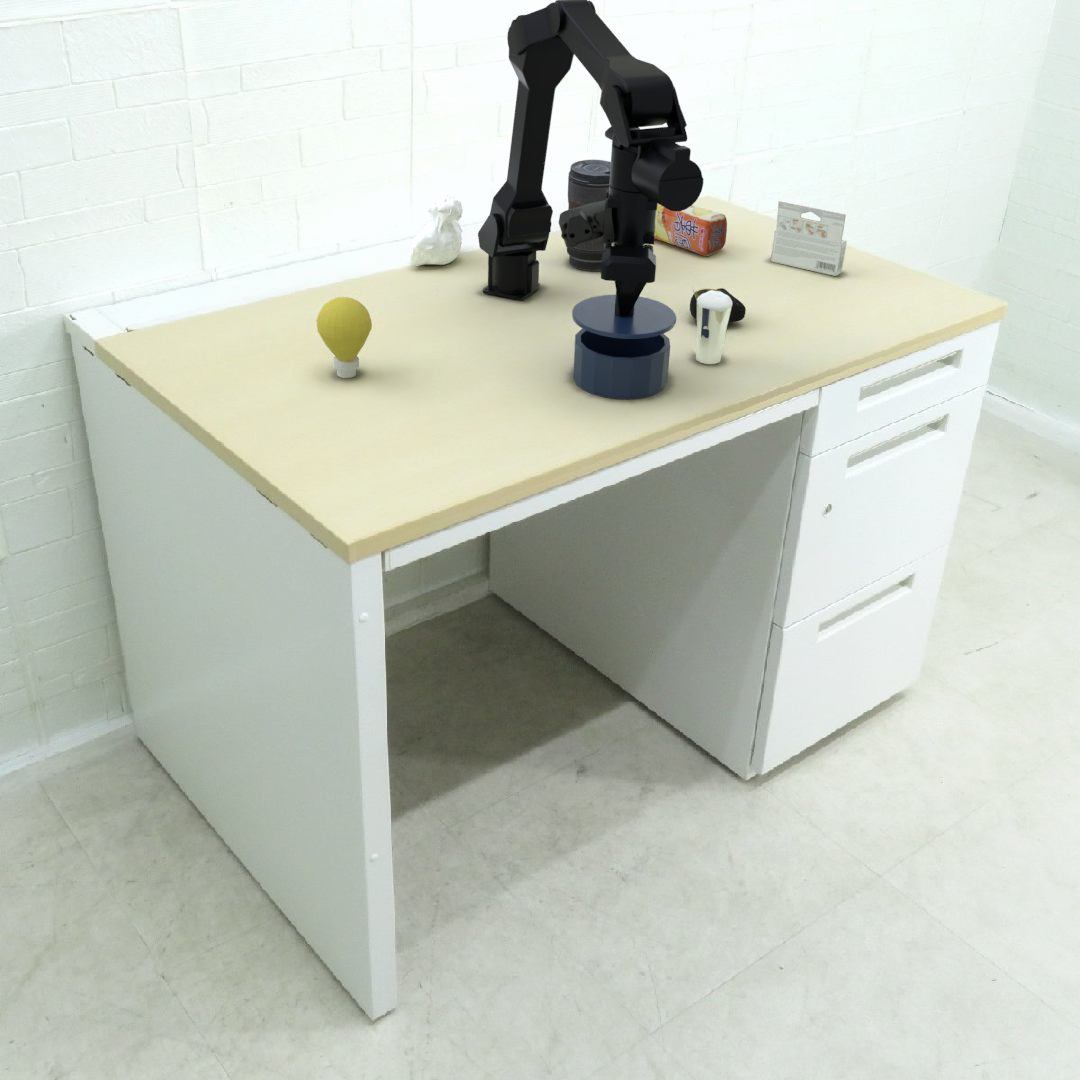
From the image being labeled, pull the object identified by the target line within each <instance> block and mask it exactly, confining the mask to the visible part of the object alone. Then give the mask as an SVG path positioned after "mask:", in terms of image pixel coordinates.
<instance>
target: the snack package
mask: <svg viewBox="0 0 1080 1080" xmlns="http://www.w3.org/2000/svg"><path fill="white" fill-rule="evenodd" d="M727 232H728V221H727V216H726V214H724V213H723V212H718V211H715V210H711V209H708V208H704V207H701V206H698V205H695V204H693V205H692V206H690V207H689V208H687V209H685V210H682V211H678V212H676V211H671V210H669V209H667V208H665V207H663V206H661V205H660V204H658V203H657V210H656V218H655V238H654V240H657V241H660V242H664V243H667V244H670V245H673V246H676V247H678V248H682V249H685V250H687V251H690V252H693V253H695V254H698V255H700V256H703V257H709V256H712V255H713V254H716V253H717V252H720V251H721V250H722V249H723V248H724V246H725V245H726V241H727Z"/></svg>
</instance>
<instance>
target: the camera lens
mask: <svg viewBox="0 0 1080 1080" xmlns="http://www.w3.org/2000/svg"><path fill="white" fill-rule="evenodd" d="M610 167H611V161H608V160H604V159H582V160H578V161H575V162H573V163H572V164H570V169H569V172H568V175H567V176H568V177H567V179H568V180H567V204H568V209H567V210H569V209H573V208H576V207H580V206H583V205H586V204H590V203H594V202H599V201H603V200H606V190H609V183H610ZM604 244H605V243H603V236H602V237H600V238H597V239H594V240H591V241H587V242H584V243H580V244H578V245H577V246H576V247H572V248H567V247H566V253H567V255H568V257H569V258H568V261H569V264H570V266H572V267H573V268H575V269H578V270H583V271H593V272H594V271H595V272H596V271H597V272H598V271H601V268H602V255H603V252H604Z"/></svg>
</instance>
